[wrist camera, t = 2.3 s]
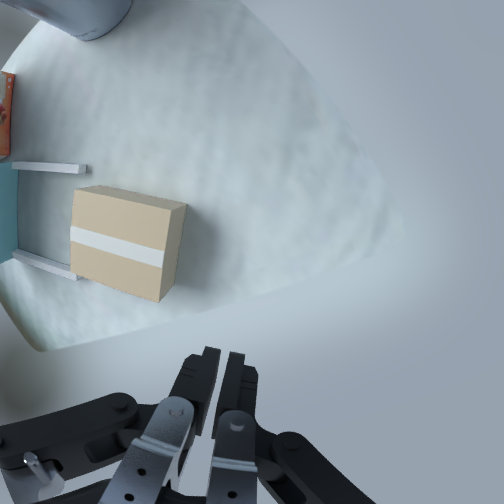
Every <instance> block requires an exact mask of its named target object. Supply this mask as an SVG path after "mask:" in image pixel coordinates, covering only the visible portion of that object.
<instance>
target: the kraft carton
mask: <svg viewBox="0 0 504 504" xmlns="http://www.w3.org/2000/svg"><path fill="white" fill-rule="evenodd" d="M186 208H187V204H185V203H181V202H176V201H172V200H167V199H163V198H158V197H153V196H149V195H144V194H139V193H135V192H130V191H125V190H120V189H115V188H110V187H105V186H100V185H98V186H91V187H85V188H78V189H74V198H73V209H72V223H71V226H70V240H71V249H70V271H71V273H74V274H77V275H79V276H82V277H84V278H87V279H90V280H92V281H95V282H98V283H101V284H103V285H106V286H109V287H112V288H115V289H118V290H121V291H124V292H126V293H129V294H132V295H135V296H139V297H142V298H145V299H148V300H151V301H154V302H157V303H159V302H160V300H161V299H162V298H163V297H164V296H165V294H166V293H167V292H168V291H169V290H170V289H171V287H172V286H173V285H174V281H175V274H176V267H177V260H178V254H179V248H180V242H181V236H182V230H183V225H184V219H185V214H186Z"/></svg>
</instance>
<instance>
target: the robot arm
mask: <svg viewBox="0 0 504 504" xmlns="http://www.w3.org/2000/svg"><path fill="white" fill-rule="evenodd" d="M0 3H2V4H5V5H8V6H10V7H13V8H15V9H17V10H20V11H22V12H25V13H27V14H29V15H31V16H34V17H36V18H38V19H40V20H42V21H44V22H47V23H49V24H51V25H53V26H55V27H57V28H59V29H61V30H63V31H65V32H67V33H69V34H71V35H72V36H74V37H76V38H78V39H80V40H85V41H86V40H92V39H95V38H98V37H100V36H102V35H104V34H105V33H107V32H108V31H110V30H111V29H112V28H114V27H115V26H116V25H117V24H118V23H119V22H120V21H121V20H122V19H123V17H124V16H125V15H126V13H127V12H128V10H129V8H130V6H131V4H132V0H0ZM220 354H221V350H220V349H217V348H212V347H207V346H205V349H204V351H203V354H202V356H200V355H195V354H191V355H190V356H189V357H187V358H186V359H185V361H184V363H183V365H182V368H181V370H180V372H179V374H178V376H177V378H176V380H175V383H174V385H173V387H172V390H171V392H170V394H169V396H168V397H167V398H164V399H163V400H162V401H161V402H160V403H158V404H153V405H147V404H145V405H144V404H137V402H136V400H135V399H134V398H133V397H132V396H130V395H128V394H126V393H112V394H109V395H107V396H104V397H101V398H98V399H95V400H92V401H89V402H86V403H83V404H80V405H76V406H73V407H70V408H67V409H64V410H60V411H57V412H54V413H50V414H46V415H43V416H39V417H36V418H32V419H28V420H24V421H20V422H16V423H11V424H7V425H3V426H0V469H1V472H2V475H3V477H4V480H5V482H6V485H7V488H8V490H9V492H10V495H11V497H12V500H13V502H14V504H257V477H258V479H259V481H260V482H261V483H262V485H263V486H264V487H265V488H266V490H267V491H268V492H269V493H270V494H271V496H272V497H273V498H274V499H275V500H276V501H277V503H278V504H376V503H375V502H373V501H372V500H371V499H370V498H369V497H367V496H366V495H365V494H364V493H363V492H362V491H360V490H359V489H358V488H357V487H356V486H355V485H354V484H353V483H351V482H350V481H349V480H348V479H347V478H346V477H345V476H344V475H343V474H342V473H341V472H340V471H339V470H337V469H336V468H335V467H334V466H333V465H332V464H331V463H330V462H329V461H328V460H327V459H326V458H325V457H324V456H323V455H322V454H321V453H320V452H319V451H318V450H317V449H316V448H315V447H314V446H313V445H312V444H311V443H310V442H309V441H308V440H307V439H306V438H305V437H303V436H302V435H301V434H299V433H296V432H283V433H280V434H278V435H276V434H274V433H271V432H268V431H266V430H264V429H263V428H261V427H260V426H259V425H258V423H257V422H256V419H255V406H256V396H257V383H258V373H257V371H256V369H255V367H252V366H247V365H244V360H245V354H240V353H236V352H230V354H229V358H228V362H227V366H226V370H225V375H224V378H223V382H222V387H221V391H220V395H219V399H218V403H217V407H216V413H215V419H214V426H213V432H212V437H211V438H212V439H215V444H214V450H213V455H212V461H211V467H210V473H209V479H208V486H207V492H206V496H185V495H182V494H180V493H178V492H177V491H178V486H179V481H180V478H181V476H182V473H183V470H184V467H185V464H186V462H187V459H188V456H189V453H190V450H191V446H192V444H193V441H194V438H195V435H198V436H201V434H202V430H203V427H204V423H205V419H206V416H207V412H208V408H209V405H210V401H211V397H212V393H213V390H214V386H215V382H216V378H217V372H218V366H219V360H220ZM119 460H122V461H121V463H120V465H119V466H118V468H117V470H116V472H115V474H114V475H113V478H111V479H106V480H102V481H99V482H96V483H94V484H91V485H88V486H86V487H83V488H80V489H78V490H75V491H72V492H69V493H66V494H63V495H60V496H56V497H54V496H55V495H57V494H59V493H61V491H62V490H63V488H64V481H66V480H69V479H73V478H75V477H78V476H81V475H84V474H87V473H90V472H92V471H95V470H97V469H100V468H103V467H105V466H108V465H110V464H112V463H115V462H117V461H119ZM52 497H53V498H52Z"/></svg>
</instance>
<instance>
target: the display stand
mask: <svg viewBox="0 0 504 504" xmlns="http://www.w3.org/2000/svg"><path fill="white" fill-rule="evenodd" d="M86 166H87V165H83V164H68V163H50V162H19V161H15V162H3V163H0V264H1V263H3V262H5V261H7V260H9V259H11V258H14V259H16V260H19V261H22V262H24V263H27V264H29V265H32V266H35V267H37V268H40V269H43V270H45V271H48V272H51V273H54V274H57V275H60V276H62V277H65V278H68V279H71V280H74V281H77V280H79V279H81V278H82V276H79V275H77V274H74V273H71V271H70V266H69V265H65V264H62V263H59V262H56V261H53V260H50V259H47V258H44V257H41V256H38V255H35V254H32V253H29V252H26V251H23V250H20V249H18V232H17V188H18V171H19V170H35V171H50V172H62V173H74V174H83V173H86Z"/></svg>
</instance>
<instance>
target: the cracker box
mask: <svg viewBox="0 0 504 504" xmlns="http://www.w3.org/2000/svg"><path fill="white" fill-rule="evenodd" d="M13 82H14V74H11V73H7V72H3V71H0V160H1V159H3V158H5V157H6V156H8V155H10V113H11V100H12V90H13Z"/></svg>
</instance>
